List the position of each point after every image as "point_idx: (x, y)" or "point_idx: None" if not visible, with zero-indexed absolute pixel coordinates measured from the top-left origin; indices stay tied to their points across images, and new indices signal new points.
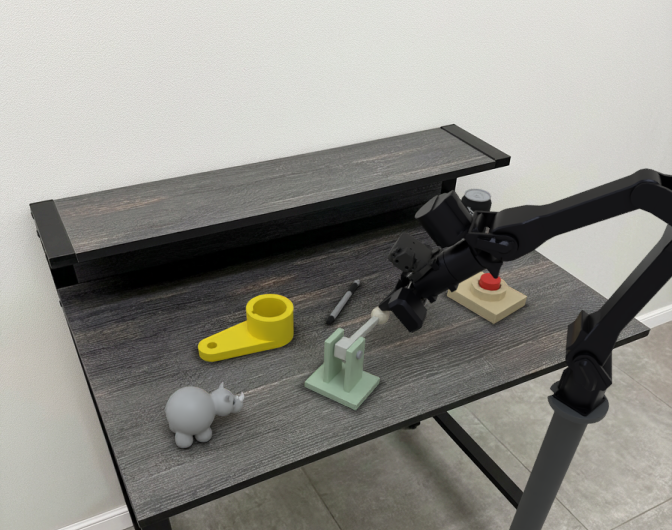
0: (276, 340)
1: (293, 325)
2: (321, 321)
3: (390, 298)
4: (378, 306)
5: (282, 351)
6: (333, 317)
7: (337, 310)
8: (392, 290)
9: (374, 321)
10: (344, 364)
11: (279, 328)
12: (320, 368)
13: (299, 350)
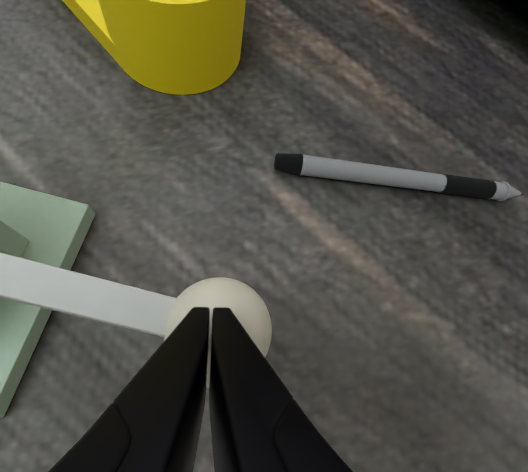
0: (115, 46)
1: (192, 66)
2: (284, 146)
3: (89, 434)
4: (193, 308)
5: (111, 85)
6: (299, 167)
7: (337, 169)
8: (284, 398)
9: (114, 318)
10: (50, 261)
11: (111, 12)
12: (12, 191)
13: (128, 122)
